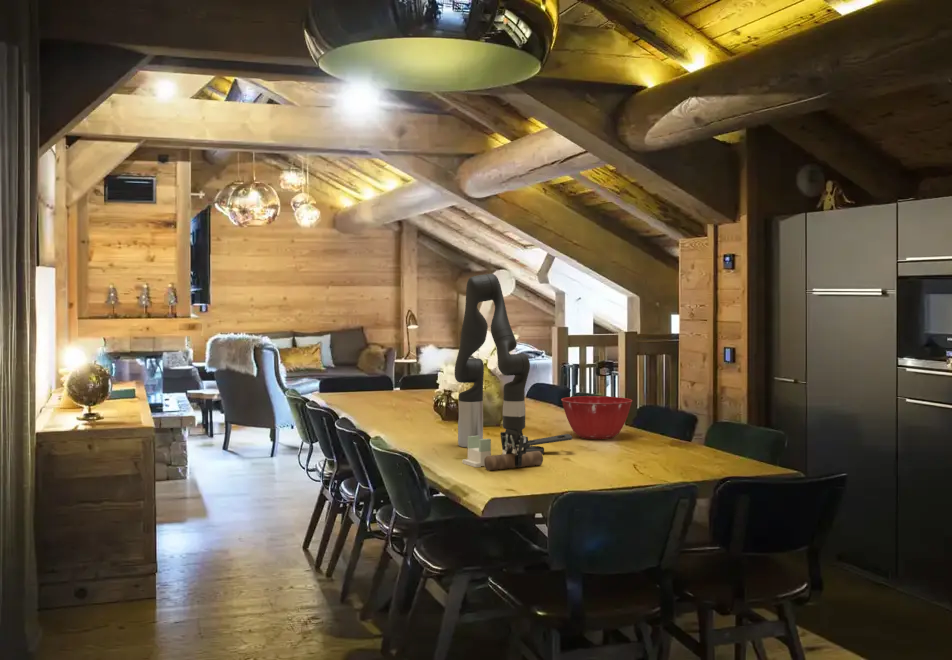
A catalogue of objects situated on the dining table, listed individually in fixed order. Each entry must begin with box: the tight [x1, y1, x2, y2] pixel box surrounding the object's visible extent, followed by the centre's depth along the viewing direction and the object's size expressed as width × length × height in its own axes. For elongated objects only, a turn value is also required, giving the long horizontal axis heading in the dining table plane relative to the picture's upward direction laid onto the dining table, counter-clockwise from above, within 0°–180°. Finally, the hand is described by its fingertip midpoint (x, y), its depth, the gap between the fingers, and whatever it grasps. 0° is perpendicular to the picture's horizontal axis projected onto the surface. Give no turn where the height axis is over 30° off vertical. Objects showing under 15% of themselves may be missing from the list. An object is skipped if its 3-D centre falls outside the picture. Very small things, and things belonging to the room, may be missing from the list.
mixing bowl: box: [560, 395, 633, 440], centre depth 372 cm, size 28×28×16 cm
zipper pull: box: [526, 433, 573, 455], centre depth 334 cm, size 9×7×25 cm
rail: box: [484, 451, 544, 471], centre depth 307 cm, size 20×5×5 cm, turn 120°
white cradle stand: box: [461, 434, 527, 468], centre depth 316 cm, size 22×9×9 cm, turn 120°
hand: (513, 464), depth 307 cm, fingers closed on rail, 4 cm apart
